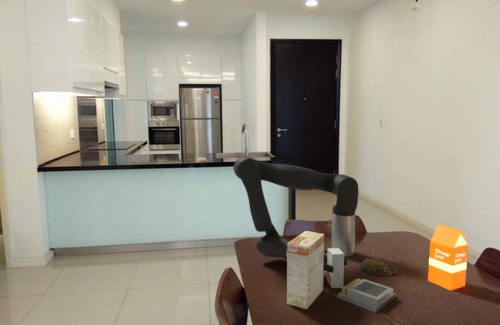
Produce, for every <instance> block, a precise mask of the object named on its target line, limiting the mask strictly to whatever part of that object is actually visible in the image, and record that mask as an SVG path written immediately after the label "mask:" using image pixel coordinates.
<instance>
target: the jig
mask: <svg viewBox="0 0 500 325" xmlns="http://www.w3.org/2000/svg"><path fill="white" fill-rule="evenodd" d="M396 297H397V292H394V288H392V287H389V286H387V285H383V284H380V283H377V282H374V281H371V280H368V279H366V278H365V279H364V278H362V279H360V278H358V277H357V278H356V279H354V280H352V281H351V282H349V283H347V284H346V285H343V287H342V288H341V292H339V293H337V298H338V299H339V300H342V301H345V302H347V303H351V304H353V305H355V306H358V307H361V308H363V309H365V310H368V311H371V312H372V313H373V312H374V313H377V312H378V311H380V310H381V309H382V308H384V307H385V306H386V305H387V304H389V303H390V302H391V301H392V300H394V299H395V298H396Z"/></svg>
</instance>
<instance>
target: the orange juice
mask: <svg viewBox="0 0 500 325" xmlns="http://www.w3.org/2000/svg"><path fill="white" fill-rule="evenodd" d="M429 244H430V245H429V257H428V276H427V282H430V283H432V284H435V285H438V286H440V287H442V288H444V289H446V290H449V291H455V290H457V289H459V288H463V287H466V279H467V278H466V274H467V262H468V261H467V260H468V251H469V250H468V249H469V247H468V246H469V244H468V242H467V240H466V237H465V234H464V233H463V231H462V230H460V229H456V228H453V227H450V226H446V225H442V224H438V225H437V227H436V229H435V231H434V233H433V235H432V238H431V239H430V242H429ZM462 286H463V287H462Z"/></svg>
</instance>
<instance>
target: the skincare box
mask: <svg viewBox="0 0 500 325" xmlns="http://www.w3.org/2000/svg"><path fill="white" fill-rule="evenodd" d="M326 251H327V264H328V265H331V266H333V267H334V271H333V272H332V273H330V272H327V271H326V281H327V283H328V284H329V286H330V287H331V289H340V288H341V289H342V287H344V273H345V272H344V271H345V270H344V269H345V266H344V259H345V257H344V253H343V252H342V251H341V250H340V249H339V248H332V247H330V248H329V247H327V249H326Z"/></svg>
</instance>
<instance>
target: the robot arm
mask: <svg viewBox="0 0 500 325" xmlns="http://www.w3.org/2000/svg"><path fill="white" fill-rule="evenodd" d="M233 172H234V174H235V175H236V177H237V178H238V179H240V180H241V182H242V185H243V187H244V189H245V191H246V195H247V198H248V206H249V211H250V215H251V216H250V217H251V219H252V223H253V225H254V228H255V230H256V232H258V233H262V232H263V233H265V235H264V236H262V237H260V238H259V239H258V240H257V241H256V244H255V249H256V250H257V252H258V253H259V254H260V255H262V256H265V257H268V258H283V259H285V260H287V244H288V243H289V242H290V241H291V240H289V239H286V238H285V239H282V238H281V236H280V234H279V232H278V231H277V229H276V227H275V225H274V224H273V222H272V218H271V215H270V212H269V208H268V204H267V202H266V198H265V194H264V191H263V185H262V181H264V182H267V183H271V184H273V185H277V186H280V187H284V188H289V189H292V190H298V191H315V190H316V191H323V192H327V193H331V194H333V195H335V196H336V203H335V205H333V206H332V211H331V212H332V215H331V216H332V218H331V220H332V221H331V248H339V249H340V250H341V251H342V252H343V253H344V267H346V266H347V265H348V259H347V258H348V257H349V258H350V257H352V256H354V254H355V249H356V248H355V246H356V244H355V243H356V241H355V240H356V230H355V228H356V226H355V225H356V224H355V222H356V210H357V208H358V201H359V183H358V181H357V180H356V178H354V177H352V176H349V175H346V174H341V173H340V174H339V173H336V174H335V173H327V172H326V173H324V172H320V171H317V170H314V169H311V168H307V167H303V166H298V165H292V164H283V163H282V164H280V163H268V162H265V161H260V160H258V159H254V158H253V157H249V156H242V157H240V158H238V159H237V160H236V161H235V162H234V164H233ZM324 271H325V272H326V273H327V272H330V273H332V272H333V271H334V267H333V266H331V265H328V264H327V249H326V250H325V249H324V264H323V272H324Z"/></svg>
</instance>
